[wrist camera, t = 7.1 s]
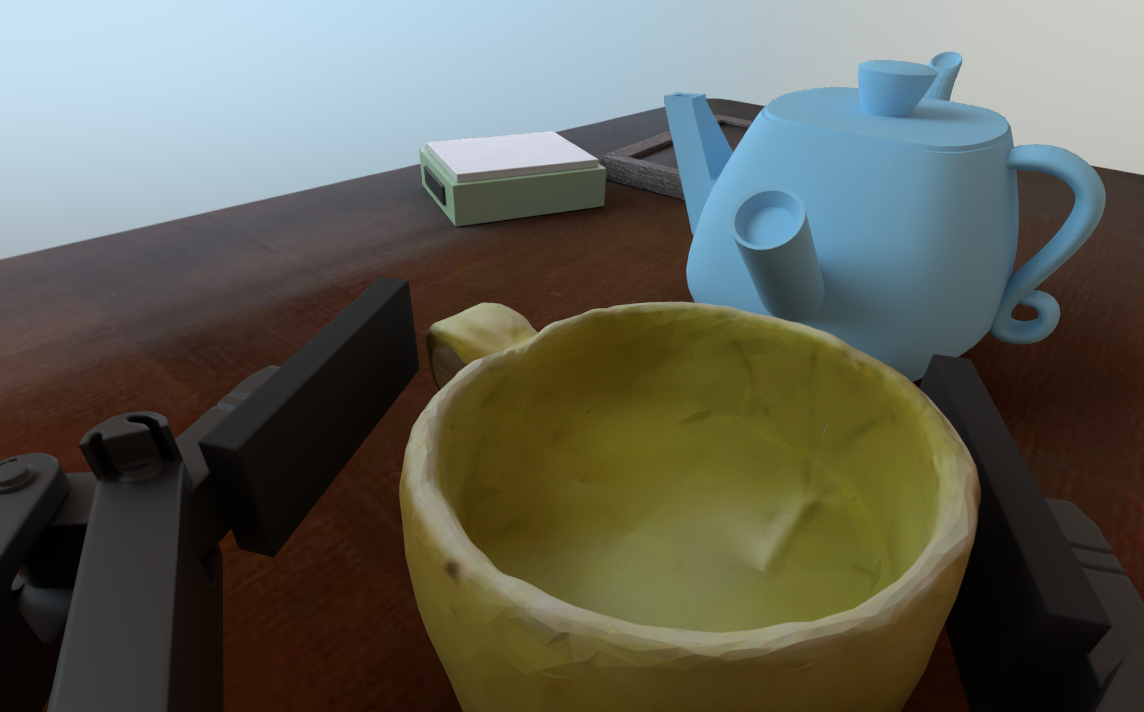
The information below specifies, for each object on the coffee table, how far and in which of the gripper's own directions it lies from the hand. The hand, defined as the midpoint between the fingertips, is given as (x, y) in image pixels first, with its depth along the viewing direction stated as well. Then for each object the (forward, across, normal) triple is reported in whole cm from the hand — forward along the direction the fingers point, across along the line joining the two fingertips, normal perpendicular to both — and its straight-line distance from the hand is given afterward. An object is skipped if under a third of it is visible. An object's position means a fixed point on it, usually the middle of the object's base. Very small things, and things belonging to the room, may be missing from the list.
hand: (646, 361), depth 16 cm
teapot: (+13, +6, -6) cm, 16 cm away
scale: (+27, -12, -6) cm, 30 cm away
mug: (-3, 0, -6) cm, 7 cm away
